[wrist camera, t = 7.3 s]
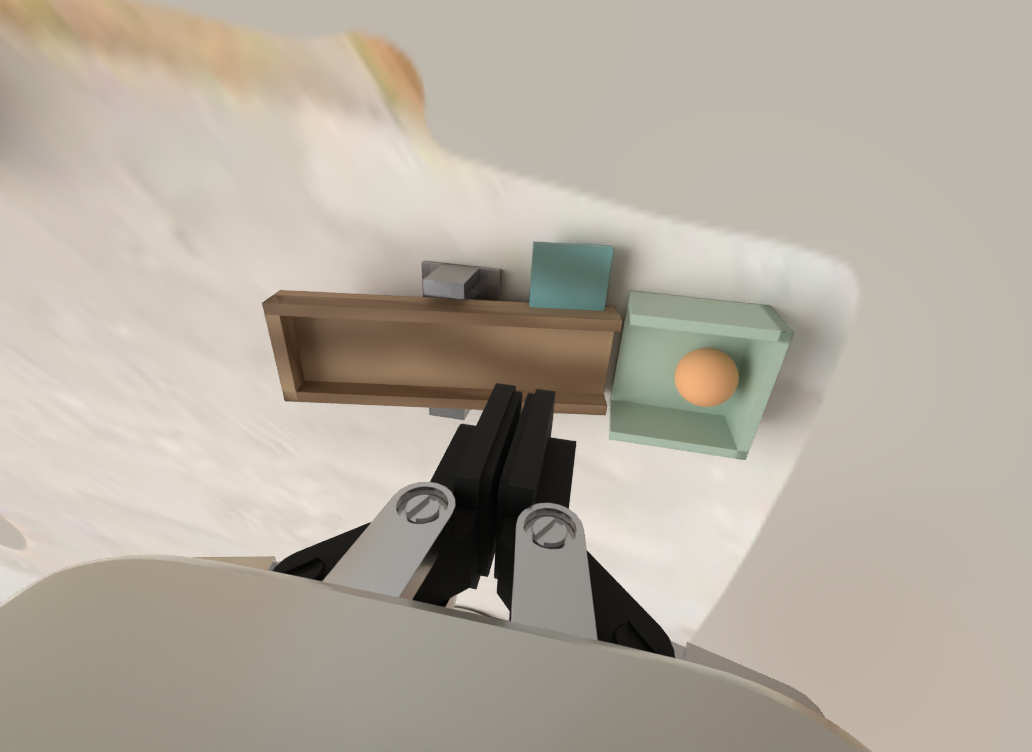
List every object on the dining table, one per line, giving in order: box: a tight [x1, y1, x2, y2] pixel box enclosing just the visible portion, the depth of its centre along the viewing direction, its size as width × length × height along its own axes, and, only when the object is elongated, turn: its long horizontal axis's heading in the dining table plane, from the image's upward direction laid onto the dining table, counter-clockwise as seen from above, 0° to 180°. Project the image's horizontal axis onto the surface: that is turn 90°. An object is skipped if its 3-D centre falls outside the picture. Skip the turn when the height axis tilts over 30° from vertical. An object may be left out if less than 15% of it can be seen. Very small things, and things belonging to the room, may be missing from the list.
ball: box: [675, 348, 739, 407], centre depth 27 cm, size 4×4×4 cm
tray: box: [609, 291, 794, 460], centre depth 27 cm, size 8×8×4 cm
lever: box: [262, 242, 622, 415], centre depth 27 cm, size 10×20×2 cm, turn 87°
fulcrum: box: [422, 261, 500, 420], centre depth 29 cm, size 9×5×4 cm, turn 177°
